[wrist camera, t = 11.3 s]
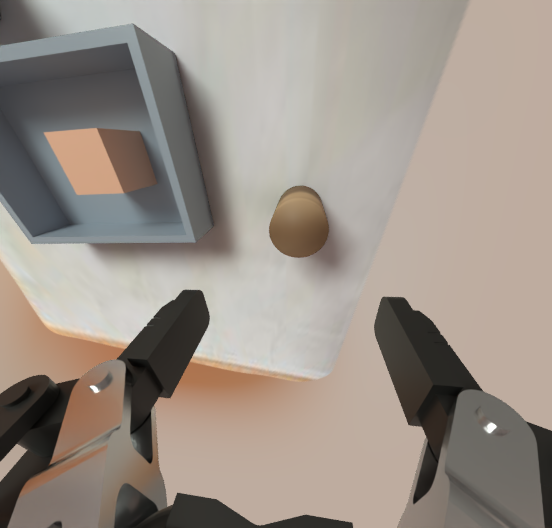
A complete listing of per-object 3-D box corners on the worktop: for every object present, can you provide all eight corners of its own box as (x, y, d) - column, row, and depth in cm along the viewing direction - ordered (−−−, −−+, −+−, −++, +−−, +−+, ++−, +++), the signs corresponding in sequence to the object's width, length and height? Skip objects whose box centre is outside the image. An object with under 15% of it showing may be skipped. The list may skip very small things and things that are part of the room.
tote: (-17, 79, 20) (-103, 62, 16) (174, 52, 17) (132, 23, 13) (73, 228, 28) (31, 243, 24) (213, 225, 25) (195, 242, 21)
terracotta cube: (96, 134, 21) (43, 132, 17) (140, 131, 20) (96, 128, 16) (118, 185, 23) (76, 194, 19) (157, 183, 23) (123, 193, 19)
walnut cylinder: (276, 186, 22) (266, 202, 16) (323, 184, 21) (331, 200, 15) (279, 229, 25) (271, 257, 19) (320, 229, 24) (326, 257, 18)
